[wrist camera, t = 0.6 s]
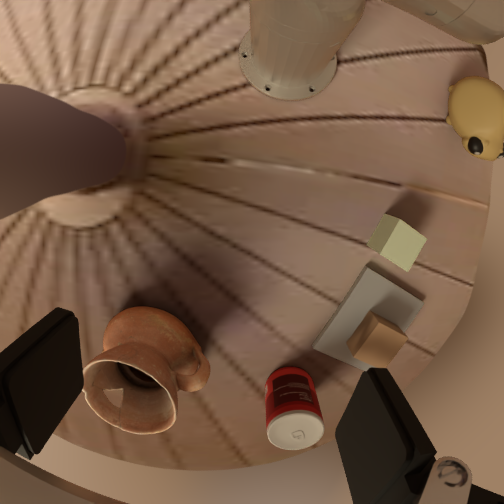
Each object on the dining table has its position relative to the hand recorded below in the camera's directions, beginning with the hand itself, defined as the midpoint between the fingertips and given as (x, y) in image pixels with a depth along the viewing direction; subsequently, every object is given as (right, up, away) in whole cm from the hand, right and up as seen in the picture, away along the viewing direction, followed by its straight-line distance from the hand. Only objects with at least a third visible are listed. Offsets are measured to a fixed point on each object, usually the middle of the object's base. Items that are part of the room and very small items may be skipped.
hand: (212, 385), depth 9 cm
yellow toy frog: (+32, +24, +27) cm, 48 cm away
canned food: (+7, -17, +37) cm, 42 cm away
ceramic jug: (-13, -10, +36) cm, 39 cm away
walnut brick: (+19, -8, +34) cm, 40 cm away
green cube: (+20, +6, +31) cm, 38 cm away
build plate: (+19, -7, +34) cm, 40 cm away
